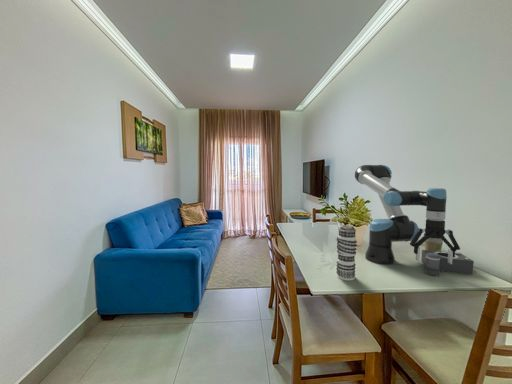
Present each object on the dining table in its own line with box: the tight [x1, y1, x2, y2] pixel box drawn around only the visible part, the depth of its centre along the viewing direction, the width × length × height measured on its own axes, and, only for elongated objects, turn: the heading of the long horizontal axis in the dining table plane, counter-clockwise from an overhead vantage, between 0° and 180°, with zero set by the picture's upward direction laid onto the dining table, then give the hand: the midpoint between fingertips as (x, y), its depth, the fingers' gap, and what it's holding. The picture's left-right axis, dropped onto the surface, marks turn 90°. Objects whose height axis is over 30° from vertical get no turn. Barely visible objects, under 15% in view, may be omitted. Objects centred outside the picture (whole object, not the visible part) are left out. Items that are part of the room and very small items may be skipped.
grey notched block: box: [420, 249, 475, 275], centre depth 123 cm, size 18×12×8 cm, turn 72°
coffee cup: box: [423, 232, 445, 252], centre depth 138 cm, size 10×10×15 cm
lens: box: [424, 253, 440, 277], centre depth 115 cm, size 6×6×10 cm
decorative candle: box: [335, 224, 358, 282], centre depth 112 cm, size 9×9×25 cm
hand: (433, 261), depth 115 cm, fingers open, 13 cm apart
